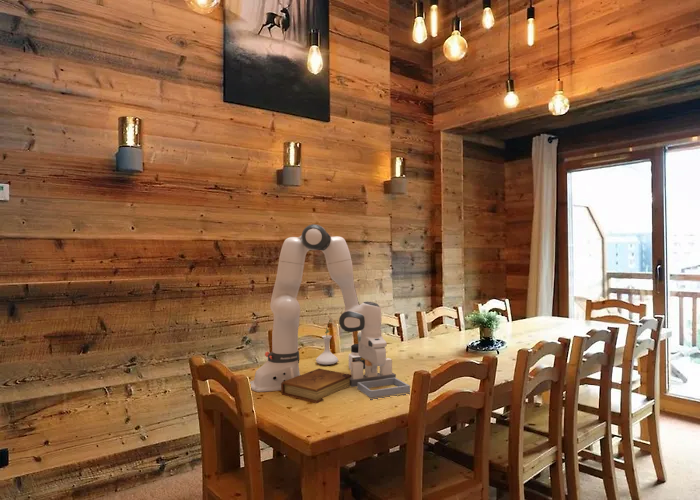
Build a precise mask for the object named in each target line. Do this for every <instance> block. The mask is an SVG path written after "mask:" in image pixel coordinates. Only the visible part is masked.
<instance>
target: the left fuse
mask: <svg viewBox="0 0 700 500" xmlns="http://www.w3.org/2000/svg"><path fill="white" fill-rule="evenodd" d="M350 375H352V377H351V378H352V379H359V378H363V375H364V369H363V362H361V361H358V362H351V370H350Z"/></svg>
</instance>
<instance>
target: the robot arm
mask: <svg viewBox="0 0 700 500" xmlns="http://www.w3.org/2000/svg"><path fill="white" fill-rule="evenodd" d="M309 251H320V252H322V253H323V255H324V259H325V263H326V268H327V272H328V274H329V276H330V279H331V280H332V281H334V282H335V283H336V284H337V286H338V287H339V288H340V290H341V295H342V299H343V302H344V311H343V312H342V313H341V315H340V316H339V318H338V324H339V326H340V328H341V329H342V330H343V331H344V332H347V333H348V332H349V333H355V332H361V340H360V341H359V343H358V344H359V348H358V354H359V356H360V357H362V358H364V359H365V360H368V361H369V362H371V363H372V368H371V372H372V373H376V368H377V369H378V367H380V366H383V365H385V362H386V358H387V349H386V348H387V341H386V340H385V339H384V337H383V335H382V329H381V326H382V311H381V306H380V305H379V304H378V303H376V302H373V301H363V302H362V303H360V302H359V299H358V294H357V290H356V287H355V281H354V280H355V279H354V267H353V260H352V256H351V252H350V249H349V246H348V243H347V242H346V239H345V238H344V237H342V236H337V235H336V236H331V235H330V234H329V233H328V232H327V231H326V229H325V228H324V227H323V226H321V225H320V224H309V225H307V226H306V227H305V228H304V229H303V230H302V232H301V235H300V236H298V237H297V236H290V237H287V238H286V239H285V240H284V241H283V243H282V246H281V250H280V254H279V257H278V258H279V259H278V265H277V270H276V277H275V282H274V285H273V289H272V294H271V299H270V303H269V307H270V310H271V313H272V314H273V322H272V323H273V324H272V325H273V326H272V332H271V334H272V336H271V338H272V339H271V342H272V343H271V344H272V346H271V347H272V349H271V350H272V351H271V352H269V351H265V353H264V356H265V357H266V358H267V361H266V362H264V363H263V365H261V366H260V367H259V368H258V369H256V371H255V373H254V379H253V380H251V381H250V382H249V383H250V384H251V388H252V389H251V388H250V389H251V390H252V391H254V392H256V393H259V392H260V393H262V392H274V391H275V392H276V391H277V392H278V391H281V383H282V382H283V381H286V380H289V379H292V378H294V377H297V376H300V375H301V374H300V373H301V372H300V367H299V366H300V365H299V363H300V351H299V326H300V317H301V316H300V315H301V305H300V302H299V301H298V300H297V298H298V295H299V294H298V293H299V291H300V287H301V285H302V281H303V275H304V274H303V273H304V269H305V260H306V256H307V253H308V252H309Z"/></svg>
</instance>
